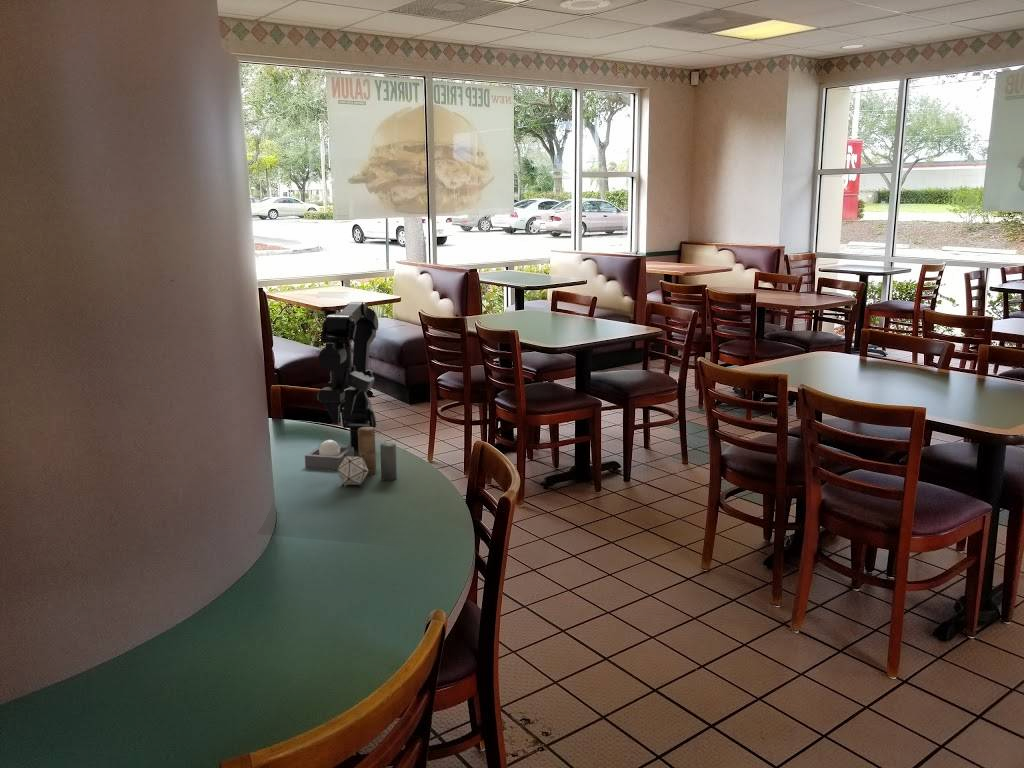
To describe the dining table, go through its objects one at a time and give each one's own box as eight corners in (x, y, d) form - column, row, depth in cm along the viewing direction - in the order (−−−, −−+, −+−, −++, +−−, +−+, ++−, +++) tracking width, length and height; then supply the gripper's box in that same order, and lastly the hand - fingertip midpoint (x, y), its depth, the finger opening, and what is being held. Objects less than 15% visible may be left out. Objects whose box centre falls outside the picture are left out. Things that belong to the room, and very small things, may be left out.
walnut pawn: (357, 471, 221) (355, 427, 218) (373, 469, 223) (372, 426, 220) (361, 476, 217) (360, 432, 214) (378, 474, 219) (376, 430, 216)
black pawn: (384, 475, 218) (383, 442, 216) (399, 476, 217) (398, 443, 215) (378, 480, 214) (377, 446, 212) (393, 481, 213) (392, 447, 211)
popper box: (320, 455, 233) (319, 444, 233) (354, 458, 232) (353, 447, 231) (305, 466, 224) (304, 455, 223) (340, 469, 222) (339, 457, 221)
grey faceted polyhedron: (346, 498, 211) (328, 464, 213) (376, 483, 214) (358, 449, 216) (346, 492, 203) (328, 457, 205) (378, 476, 206) (359, 441, 207)
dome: (324, 457, 231) (323, 436, 230) (343, 458, 230) (342, 437, 229) (316, 463, 225) (315, 442, 224) (335, 464, 224) (334, 443, 223)
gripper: (356, 370, 208) (358, 430, 212) (381, 357, 226) (383, 412, 230) (315, 368, 210) (317, 428, 214) (343, 355, 228) (345, 410, 232)
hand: (342, 419), depth 222 cm, fingers open, 9 cm apart
